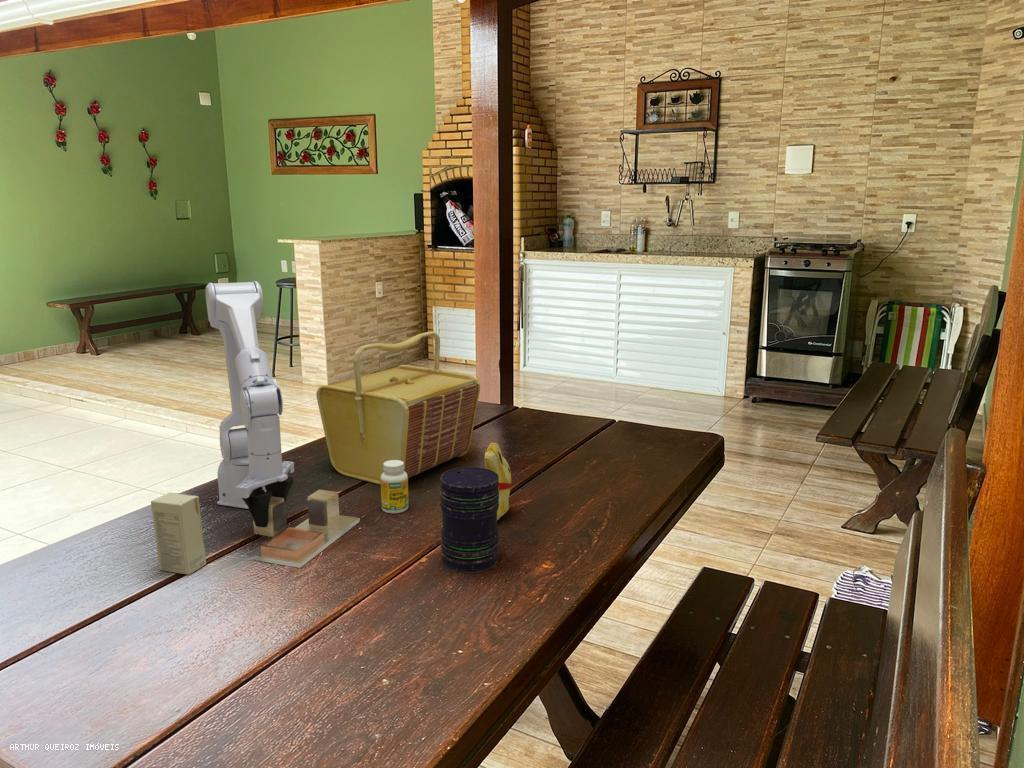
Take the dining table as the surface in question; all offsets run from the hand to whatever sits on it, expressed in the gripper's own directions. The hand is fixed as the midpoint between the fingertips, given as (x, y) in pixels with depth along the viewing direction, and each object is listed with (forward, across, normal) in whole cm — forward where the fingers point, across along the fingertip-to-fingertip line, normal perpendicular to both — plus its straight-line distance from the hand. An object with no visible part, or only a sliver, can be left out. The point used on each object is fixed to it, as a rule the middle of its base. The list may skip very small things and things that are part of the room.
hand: (269, 521), depth 139 cm
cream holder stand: (+2, -1, -9) cm, 9 cm away
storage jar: (+2, +1, -39) cm, 39 cm away
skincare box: (+2, -17, +5) cm, 18 cm away
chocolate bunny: (+2, +20, -36) cm, 41 cm away
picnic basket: (+2, +41, -7) cm, 42 cm away
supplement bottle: (+2, +17, -17) cm, 24 cm away
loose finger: (+2, 0, 0) cm, 2 cm away
